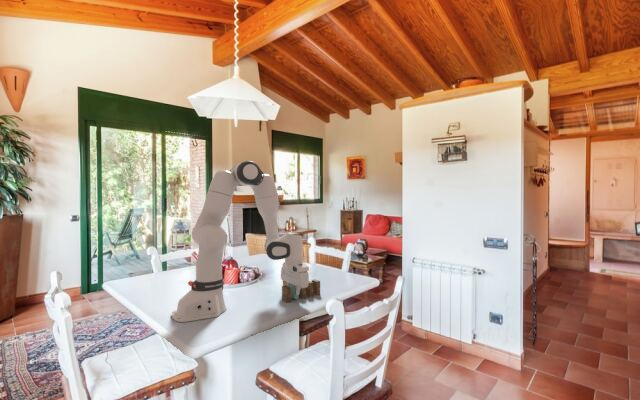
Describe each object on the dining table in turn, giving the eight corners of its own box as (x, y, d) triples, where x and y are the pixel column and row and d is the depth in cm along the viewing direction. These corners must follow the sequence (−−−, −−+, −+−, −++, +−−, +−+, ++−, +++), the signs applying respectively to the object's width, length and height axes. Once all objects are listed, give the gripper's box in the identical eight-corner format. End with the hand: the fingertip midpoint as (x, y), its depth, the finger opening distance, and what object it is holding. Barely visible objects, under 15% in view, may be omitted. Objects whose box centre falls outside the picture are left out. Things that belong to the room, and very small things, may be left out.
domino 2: (302, 298, 161) (302, 284, 161) (297, 296, 165) (297, 282, 165) (305, 298, 163) (305, 284, 162) (301, 295, 166) (300, 282, 166)
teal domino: (294, 299, 159) (294, 284, 158) (289, 296, 162) (289, 282, 162) (298, 298, 160) (298, 284, 160) (293, 295, 164) (293, 282, 163)
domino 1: (286, 302, 156) (286, 288, 156) (282, 300, 159) (282, 286, 159) (290, 301, 157) (290, 287, 157) (285, 299, 161) (285, 285, 161)
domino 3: (309, 297, 164) (309, 283, 164) (304, 294, 168) (304, 281, 167) (313, 296, 165) (313, 282, 165) (308, 294, 169) (308, 280, 169)
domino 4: (316, 295, 167) (316, 281, 167) (311, 293, 170) (311, 279, 170) (320, 294, 168) (320, 281, 168) (315, 292, 172) (315, 279, 171)
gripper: (277, 262, 167) (277, 289, 167) (300, 269, 151) (300, 299, 151) (288, 260, 171) (288, 286, 171) (311, 267, 155) (311, 296, 155)
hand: (293, 292), depth 161 cm, fingers closed on teal domino, 4 cm apart
